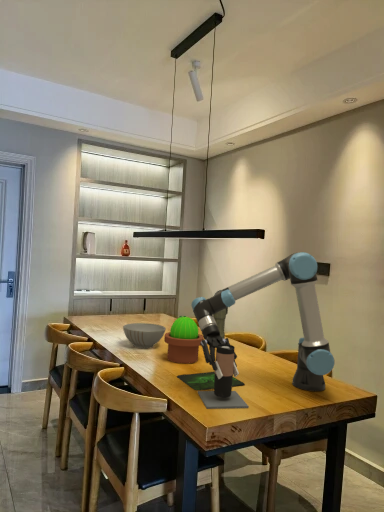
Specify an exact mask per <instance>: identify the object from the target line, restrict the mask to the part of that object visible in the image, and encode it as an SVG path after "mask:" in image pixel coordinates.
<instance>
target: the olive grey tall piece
mask: <svg viewBox="0 0 384 512" xmlns="http://www.w3.org/2000/svg"><path fill="white" fill-rule="evenodd" d="M228 311H229V307H228V308H226V309H224V310H222V311H219V312H217V313H216V314H213V317H214V319H215V322H216V324H217V326H218V329H219V331H220V336H221V337H222V338H223V339H226V338H225V335H226V333H225V325H226V324H225V323H226V317H227V315H228V313H229V312H228Z"/></svg>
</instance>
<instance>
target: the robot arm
mask: <svg viewBox="0 0 384 512" xmlns="http://www.w3.org/2000/svg"><path fill="white" fill-rule="evenodd" d="M317 271H318V262H317V260H316V258H315V257H314V256H313V255H312V254H310V253H308V252H306V251H305V252H303V251H302V252H294V253H291V254H290V255H288V256H286V257H285V258H282V259H281V260H278V261H277V262H275V265H273V266H271V267H268V268H267V269H265V270H262V271H260V272H258V273H256V274H254V275H251V276H249V277H248V278H244V279H243V280H240V281H238V282H236V283H234V284H231V285H229V286H228V287H225V288H223V289H218V290H217V291H216V292H214V295H212V296H211V297H209V298H207V299H206V298H205V296H199V297H195V298H194V299H193V300H192V302H191V303H190V304H191V305H190V306H191V308H192V313H193V315H194V316H195V319H196V321H197V325H198V328H200V331H201V335H202V336H203V340H202V341H201V342H200V344H201V346H200V347H202V351H203V355H204V356H203V357H204V360H205V363H206V364H209V366H211V367H212V370H213V372H214V371H215V372H216V374H217V377H218V379H220V378H221V377H222V376H223V374H222V372H221V369H220V367H219V364H218V362H217V361H216V347H217V345H218V344H228V345H231V343H230V341H229V340H230V339H229V338H228V337H226V338H224V339H223V338H222V337H221V336H220V331H219V329H218V326H217V324H216V322H215V319H214V317H213V314H216V313H217V312H219V311H222V310H224V309H226V308H228V309H229V308H230V307H232V306H234V305H235V304H236V301H238V300H240V299H242V298H245V297H247V296H248V295H249V296H250V294H254V293H255V292H258V291H260V290H263V289H265V288H267V287H270V286H271V285H274V284H275V283H278V282H280V281H283V282H284V281H285V282H286V281H288V280H290V285H291V286H293V287H294V288H295V294H296V299H297V306H298V310H299V317H300V323H301V328H302V329H301V330H302V334H303V337H300V338H299V340H298V343H297V345H298V348H297V364H296V370H295V373H294V375H293V377H292V383H291V384H292V385H293V386H294V387H295V388H297V389H301V390H304V391H309V392H322V391H324V390H326V382H325V378H324V376H325V375H327V374H329V373H331V371H332V370H333V369H334V366H335V358H334V355H333V354H332V352H331V349H330V341H329V340H328V339H327V338H326V337H325V335H324V334H325V333H324V329H323V325H322V324H323V323H322V317H321V314H320V313H321V312H320V307H319V300H318V295H317V291H316V284H317V282H318V274H317V273H318V272H317ZM237 358H238V355H237V354H236V351H234V367H233V377H234V378H236V377H237V376H238V375H239V374H240V373H239V370H238V368H237V367H238V365H237V363H236V359H237Z"/></svg>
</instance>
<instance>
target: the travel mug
mask: <svg viewBox="0 0 384 512" xmlns="http://www.w3.org/2000/svg"><path fill="white" fill-rule="evenodd" d="M235 350H236V349H235V346H234V345H232V344H230V345H228V344H218V345H217V347H216V348H215V361H217V362H218V364H219V367H220V369H221V372H222V374H223V376H222V377H221V378H220V379H218V377H217V374H216V372H215V376H214V389H213V391H214V395H216V396H218V397H230V396H231V391H233V387H232V381H233V377H234V374H233V367H234V352H235Z"/></svg>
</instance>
